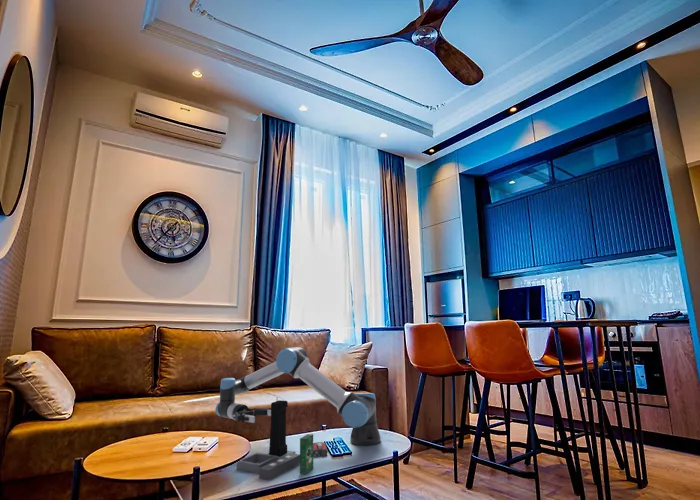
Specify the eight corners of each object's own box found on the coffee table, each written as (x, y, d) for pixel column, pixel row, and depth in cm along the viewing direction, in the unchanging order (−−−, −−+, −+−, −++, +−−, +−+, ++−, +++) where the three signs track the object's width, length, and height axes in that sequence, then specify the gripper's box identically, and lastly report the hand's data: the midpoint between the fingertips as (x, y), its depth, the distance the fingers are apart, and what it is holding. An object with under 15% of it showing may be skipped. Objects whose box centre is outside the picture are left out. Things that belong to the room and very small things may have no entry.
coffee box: (307, 467, 160) (307, 433, 162) (314, 467, 159) (313, 433, 161) (299, 474, 152) (299, 438, 155) (305, 474, 151) (305, 438, 154)
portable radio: (277, 450, 180) (278, 394, 185) (288, 452, 178) (289, 394, 183) (267, 456, 173) (268, 397, 178) (279, 457, 171) (280, 397, 176)
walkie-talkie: (307, 449, 184) (308, 463, 165) (307, 439, 185) (308, 452, 165) (325, 448, 185) (329, 462, 166) (325, 438, 186) (328, 451, 167)
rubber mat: (295, 452, 178) (295, 451, 178) (278, 460, 168) (278, 459, 168) (278, 450, 183) (278, 449, 183) (261, 457, 172) (261, 456, 172)
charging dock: (300, 463, 164) (300, 453, 165) (269, 480, 147) (269, 469, 147) (262, 457, 173) (262, 448, 174) (229, 472, 156) (229, 462, 157)
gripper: (257, 414, 205) (285, 419, 193) (216, 424, 186) (243, 431, 173) (258, 400, 207) (285, 404, 194) (217, 408, 188) (244, 413, 175)
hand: (265, 416), depth 184 cm, fingers open, 13 cm apart
